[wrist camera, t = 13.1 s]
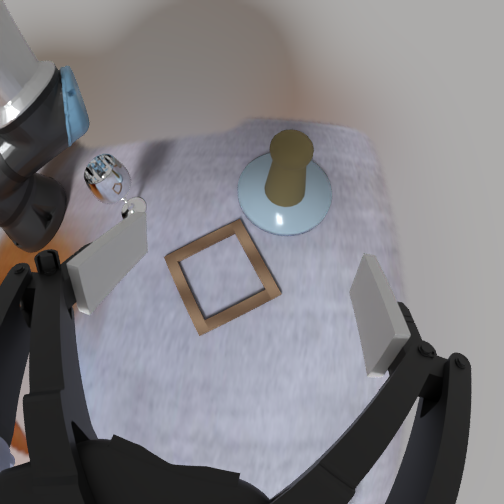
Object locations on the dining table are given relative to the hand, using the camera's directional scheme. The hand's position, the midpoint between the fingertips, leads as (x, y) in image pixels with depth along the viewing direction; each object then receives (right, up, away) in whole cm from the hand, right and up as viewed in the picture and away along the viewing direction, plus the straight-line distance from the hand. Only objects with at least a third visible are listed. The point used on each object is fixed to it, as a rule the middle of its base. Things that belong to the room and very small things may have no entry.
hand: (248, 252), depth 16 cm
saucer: (+5, +9, +25) cm, 27 cm away
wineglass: (-19, +7, +25) cm, 32 cm away
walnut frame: (-4, -3, +21) cm, 22 cm away
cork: (+5, +9, +24) cm, 26 cm away
